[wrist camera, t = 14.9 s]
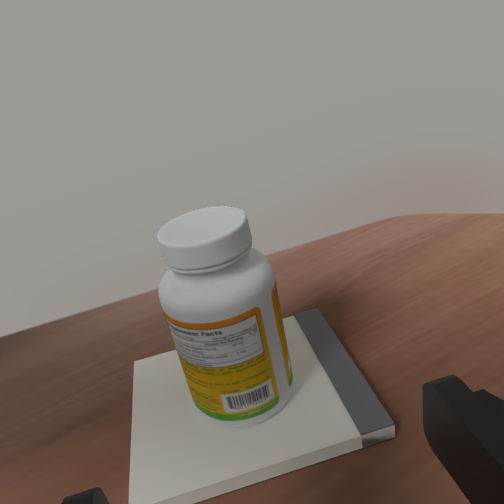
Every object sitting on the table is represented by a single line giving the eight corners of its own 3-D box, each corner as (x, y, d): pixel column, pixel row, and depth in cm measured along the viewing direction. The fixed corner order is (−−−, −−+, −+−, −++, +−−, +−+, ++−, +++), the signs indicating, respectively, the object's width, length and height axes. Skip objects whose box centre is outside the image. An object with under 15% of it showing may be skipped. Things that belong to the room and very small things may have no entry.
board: (134, 523, 19) (127, 509, 18) (138, 371, 28) (133, 360, 27) (395, 437, 20) (394, 423, 20) (318, 318, 29) (317, 307, 29)
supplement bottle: (235, 345, 27) (196, 196, 23) (313, 371, 24) (286, 203, 19) (173, 408, 23) (113, 243, 19) (256, 448, 20) (207, 261, 16)
